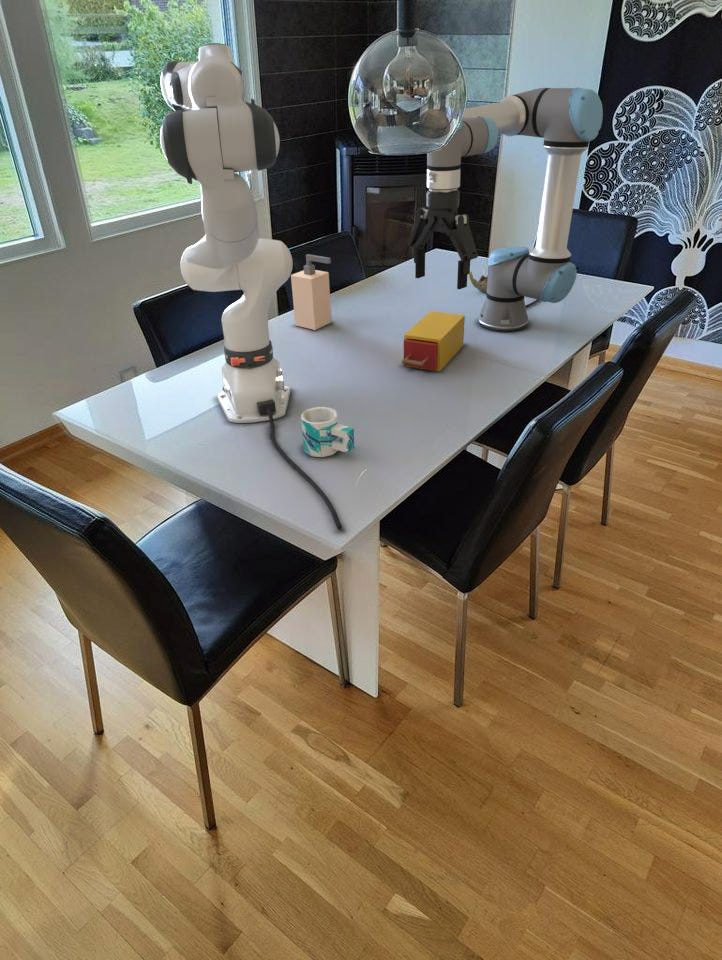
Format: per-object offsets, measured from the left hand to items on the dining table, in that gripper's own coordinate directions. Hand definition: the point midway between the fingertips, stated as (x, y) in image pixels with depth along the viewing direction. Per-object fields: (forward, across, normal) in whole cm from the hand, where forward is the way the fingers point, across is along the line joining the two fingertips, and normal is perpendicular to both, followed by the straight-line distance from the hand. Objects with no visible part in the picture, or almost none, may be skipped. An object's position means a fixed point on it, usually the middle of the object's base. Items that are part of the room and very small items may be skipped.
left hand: (231, 181), depth 174 cm
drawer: (+46, +48, -21) cm, 70 cm away
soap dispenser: (+47, +22, +18) cm, 55 cm away
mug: (+47, +12, -63) cm, 80 cm away
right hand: (+21, +46, -34) cm, 61 cm away
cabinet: (+47, +51, -17) cm, 71 cm away
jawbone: (+47, +86, +34) cm, 104 cm away
